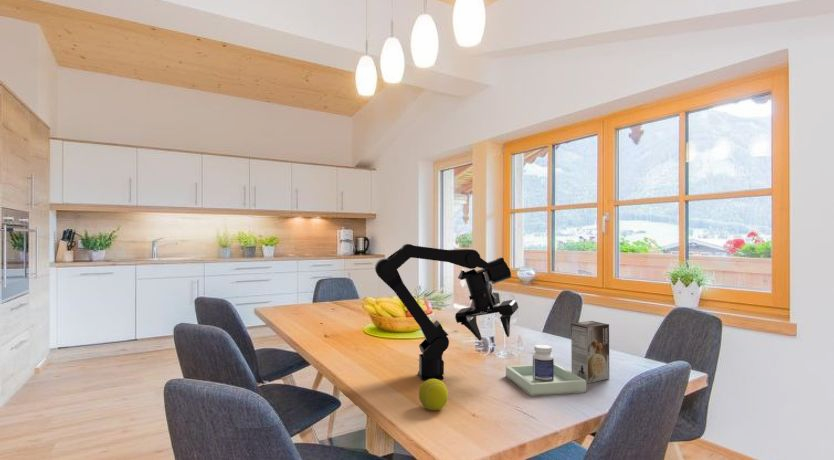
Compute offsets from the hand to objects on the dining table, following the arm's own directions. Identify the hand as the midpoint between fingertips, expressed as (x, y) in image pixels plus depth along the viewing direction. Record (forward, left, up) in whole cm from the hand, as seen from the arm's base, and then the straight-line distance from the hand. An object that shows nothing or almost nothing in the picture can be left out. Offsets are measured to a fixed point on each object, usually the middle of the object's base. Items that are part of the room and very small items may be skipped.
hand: (494, 338), depth 129 cm
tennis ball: (-24, -21, -11) cm, 34 cm away
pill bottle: (+10, -10, -11) cm, 18 cm away
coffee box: (+27, -8, -11) cm, 30 cm away
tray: (+11, -10, -11) cm, 18 cm away
